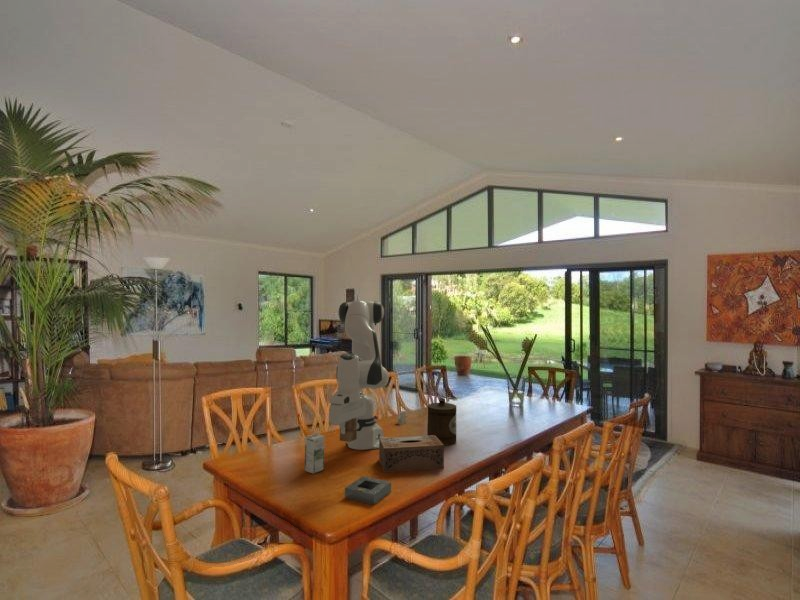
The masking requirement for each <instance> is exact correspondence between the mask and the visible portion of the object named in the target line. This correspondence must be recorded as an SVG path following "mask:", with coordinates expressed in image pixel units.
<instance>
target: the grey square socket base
mask: <svg viewBox="0 0 800 600" xmlns="http://www.w3.org/2000/svg"><path fill="white" fill-rule="evenodd" d="M391 492H392V482H391V481H387V480H382V479H378V478H374V477H369V476H365V475H362V476H361V477H360V478H358V479H356V480H355V481H353V482H352V483H350V484H349V485H347V486H345V487H344V498H345V499H349V500H352V501H353V500H354V501H355V502H356V501H357V502H362V503H365V504H368V505H372V506H375V505H376V504H377V503H378V502H380V501H381V500H382V499H384V498H385V497H387V496H388V495H389V494H390V493H391Z"/></svg>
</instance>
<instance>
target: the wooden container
mask: <svg viewBox="0 0 800 600" xmlns="http://www.w3.org/2000/svg"><path fill="white" fill-rule="evenodd" d="M426 424H427V426H426V428H427V429H426V430H427V431H426V432H427V434H426V436H428V435H435V436H436V437H437V438H438V439H439V440H440V441H441V442H442V443H443V445H444V447H446V446H451V445H454V444H456V443H457V405H456V404H453V403H449V402H446V399H445V398H444V397H440V398H439V399H438V402H432V403H429V404H428V405H427V423H426Z"/></svg>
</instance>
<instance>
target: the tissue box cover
mask: <svg viewBox="0 0 800 600" xmlns="http://www.w3.org/2000/svg"><path fill="white" fill-rule="evenodd" d="M378 451H379V452H378V456H379V457H378V460H379V463H380V465H381V468H382V471H383V472H384V473H389V472H390V473H392V472H406V471H407V472H408V471H418V470H419V471H420V470H431V469H432V470H434V469H444V467H445V446H444V445H443V443H442V442H441V441H440V440H439V439H438V438H437V437H436V436H435V435H428V436H427V435H413V436H411V435H410V436H394V437H393V436H392V437H387V438H379V448H378Z"/></svg>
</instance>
